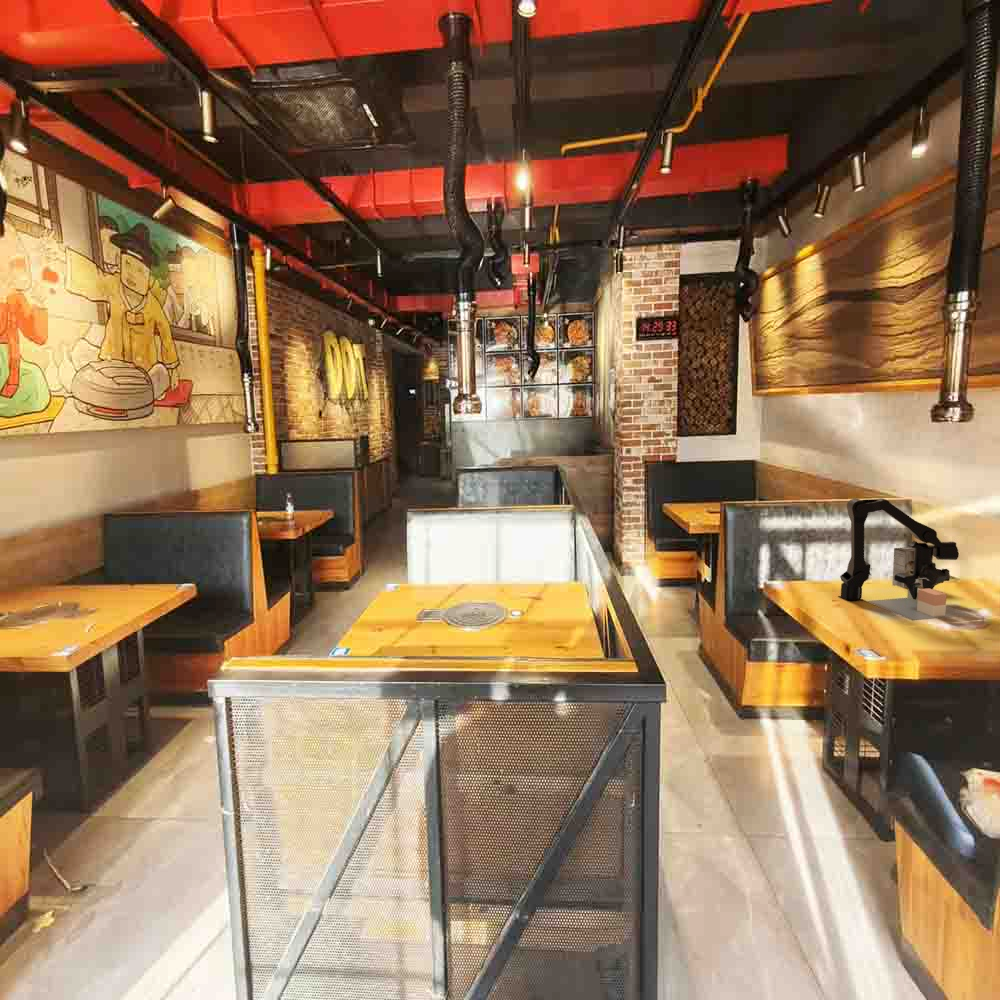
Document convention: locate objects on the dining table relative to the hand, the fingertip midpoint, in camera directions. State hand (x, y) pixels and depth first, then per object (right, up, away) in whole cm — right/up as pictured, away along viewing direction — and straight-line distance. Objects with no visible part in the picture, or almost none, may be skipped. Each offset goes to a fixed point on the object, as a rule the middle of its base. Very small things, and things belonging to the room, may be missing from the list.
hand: (920, 598), depth 222 cm
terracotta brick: (-5, +1, -13) cm, 14 cm away
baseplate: (-6, -3, -7) cm, 9 cm away
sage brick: (0, -1, 0) cm, 1 cm away
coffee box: (+9, +2, +20) cm, 23 cm away
